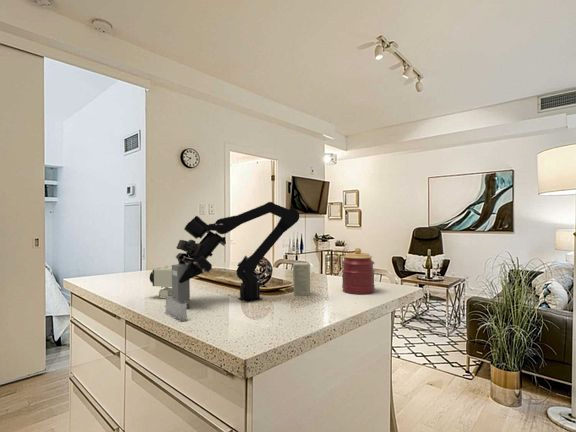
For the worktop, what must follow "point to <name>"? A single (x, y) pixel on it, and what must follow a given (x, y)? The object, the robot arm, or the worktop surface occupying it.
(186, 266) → the block
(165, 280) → the pneumatic valve
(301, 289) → the skincare box
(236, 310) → the worktop surface
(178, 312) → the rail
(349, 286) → the canister
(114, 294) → the worktop surface
